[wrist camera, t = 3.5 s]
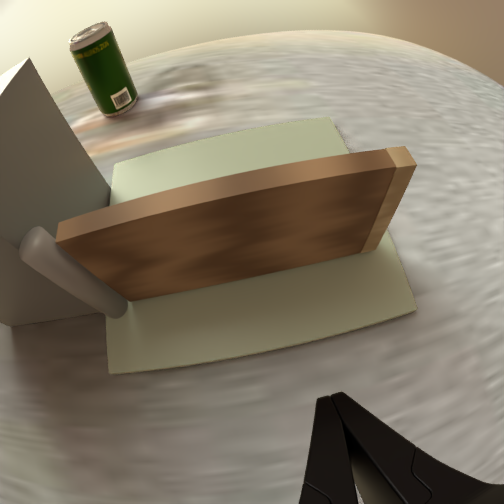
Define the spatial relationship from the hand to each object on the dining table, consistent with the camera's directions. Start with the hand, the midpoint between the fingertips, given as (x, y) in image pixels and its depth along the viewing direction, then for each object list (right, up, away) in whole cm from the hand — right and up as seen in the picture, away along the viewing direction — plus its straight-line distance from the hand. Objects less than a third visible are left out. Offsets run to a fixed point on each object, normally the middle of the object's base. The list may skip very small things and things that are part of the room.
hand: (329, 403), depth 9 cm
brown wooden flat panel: (-3, +4, +13) cm, 13 cm away
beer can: (-20, +24, +26) cm, 40 cm away
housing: (-9, +6, +16) cm, 19 cm away
